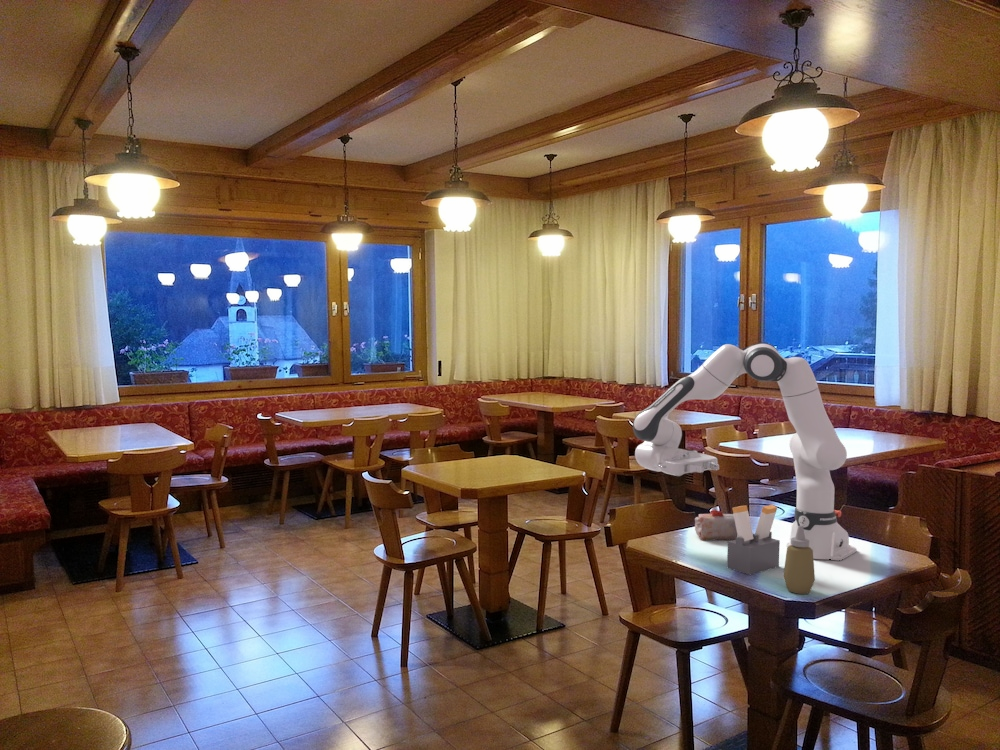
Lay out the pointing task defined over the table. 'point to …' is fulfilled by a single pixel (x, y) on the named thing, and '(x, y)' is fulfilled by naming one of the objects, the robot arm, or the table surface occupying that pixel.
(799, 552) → the squeeze bottle
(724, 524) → the food item
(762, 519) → the orange-tipped white bar
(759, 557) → the grey holder block
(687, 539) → the table surface
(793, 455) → the robot arm
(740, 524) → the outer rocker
